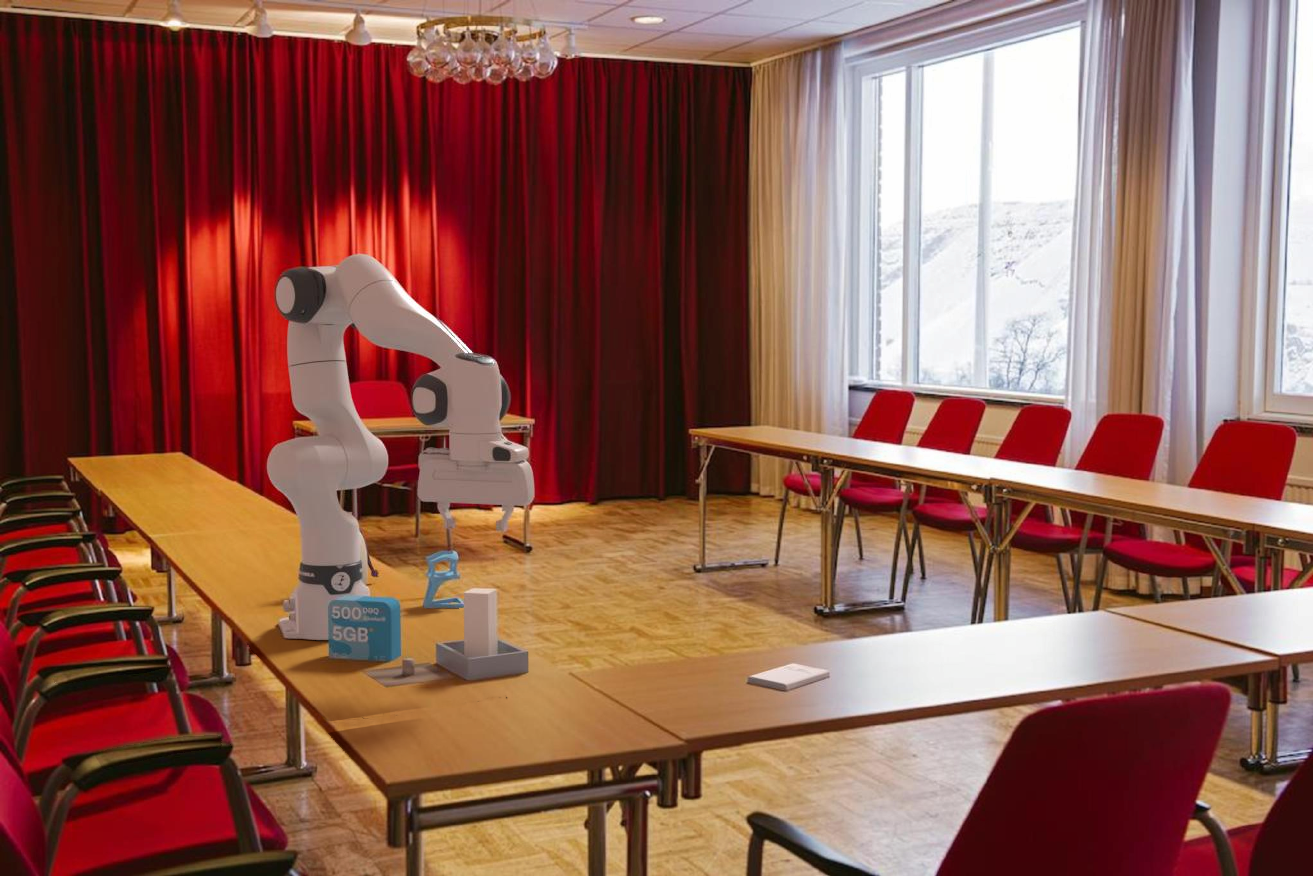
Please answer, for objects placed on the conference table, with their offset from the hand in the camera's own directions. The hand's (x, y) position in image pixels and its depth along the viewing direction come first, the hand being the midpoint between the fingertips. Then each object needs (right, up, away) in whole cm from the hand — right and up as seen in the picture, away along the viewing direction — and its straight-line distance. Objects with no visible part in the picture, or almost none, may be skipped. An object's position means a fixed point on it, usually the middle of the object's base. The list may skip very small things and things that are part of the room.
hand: (475, 529), depth 231 cm
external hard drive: (+54, -26, -1) cm, 60 cm away
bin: (+1, -25, +1) cm, 25 cm away
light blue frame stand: (-15, -21, +61) cm, 67 cm away
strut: (+1, -25, +1) cm, 25 cm away
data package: (-21, -25, +9) cm, 34 cm away
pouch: (-40, -20, +77) cm, 89 cm away
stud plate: (-11, -26, -3) cm, 28 cm away
